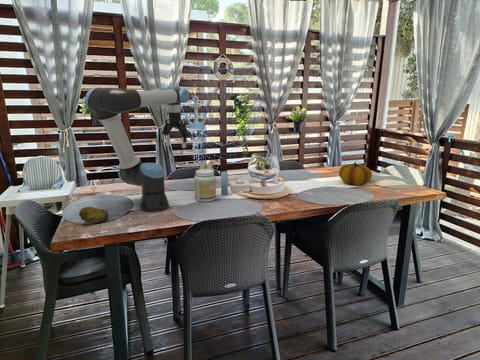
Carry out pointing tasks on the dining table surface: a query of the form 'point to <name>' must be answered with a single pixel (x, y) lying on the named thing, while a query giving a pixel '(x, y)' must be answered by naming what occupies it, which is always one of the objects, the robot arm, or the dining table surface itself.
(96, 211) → the potato
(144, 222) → the dining table surface
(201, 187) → the supplement tub
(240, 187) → the socket block
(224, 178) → the peg
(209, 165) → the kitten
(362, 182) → the decorative pumpkin
